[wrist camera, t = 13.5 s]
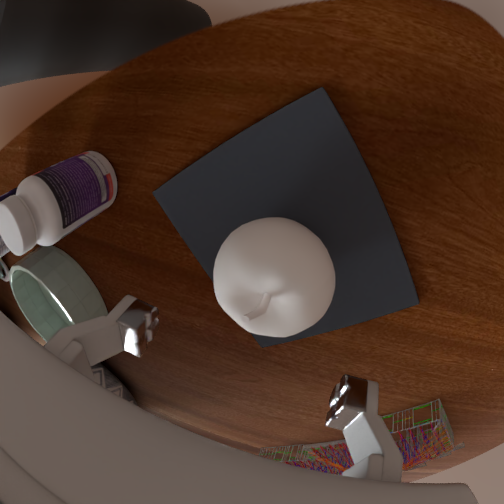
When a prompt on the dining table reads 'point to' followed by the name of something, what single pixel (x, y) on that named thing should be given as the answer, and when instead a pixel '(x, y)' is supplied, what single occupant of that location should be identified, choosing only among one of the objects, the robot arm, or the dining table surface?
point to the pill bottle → (57, 201)
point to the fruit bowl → (54, 291)
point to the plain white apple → (274, 277)
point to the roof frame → (410, 448)
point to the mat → (298, 207)
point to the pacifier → (0, 266)
